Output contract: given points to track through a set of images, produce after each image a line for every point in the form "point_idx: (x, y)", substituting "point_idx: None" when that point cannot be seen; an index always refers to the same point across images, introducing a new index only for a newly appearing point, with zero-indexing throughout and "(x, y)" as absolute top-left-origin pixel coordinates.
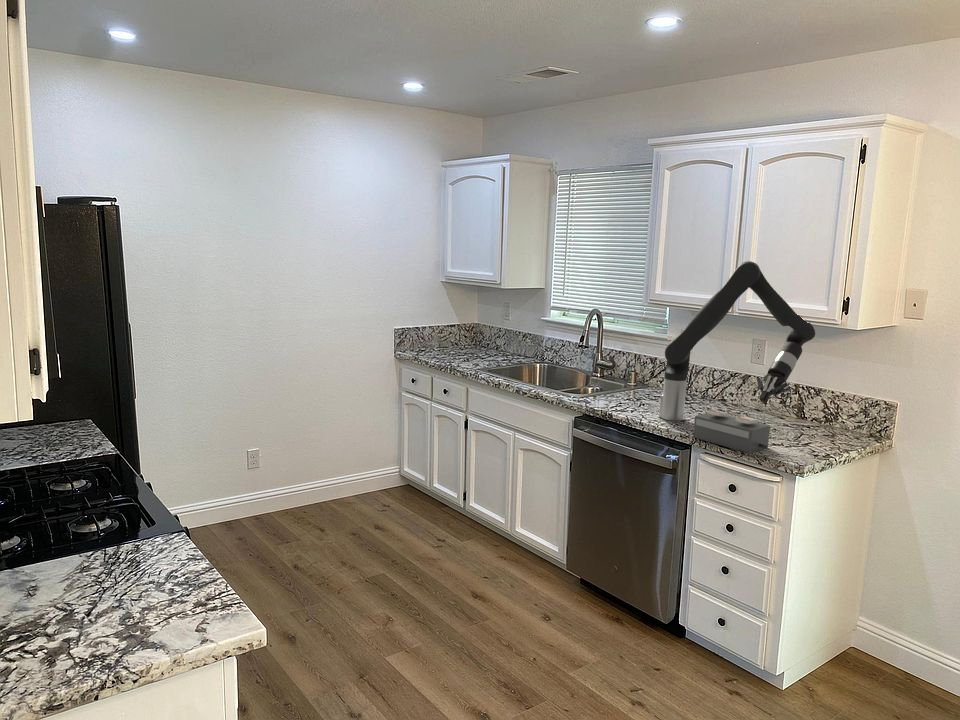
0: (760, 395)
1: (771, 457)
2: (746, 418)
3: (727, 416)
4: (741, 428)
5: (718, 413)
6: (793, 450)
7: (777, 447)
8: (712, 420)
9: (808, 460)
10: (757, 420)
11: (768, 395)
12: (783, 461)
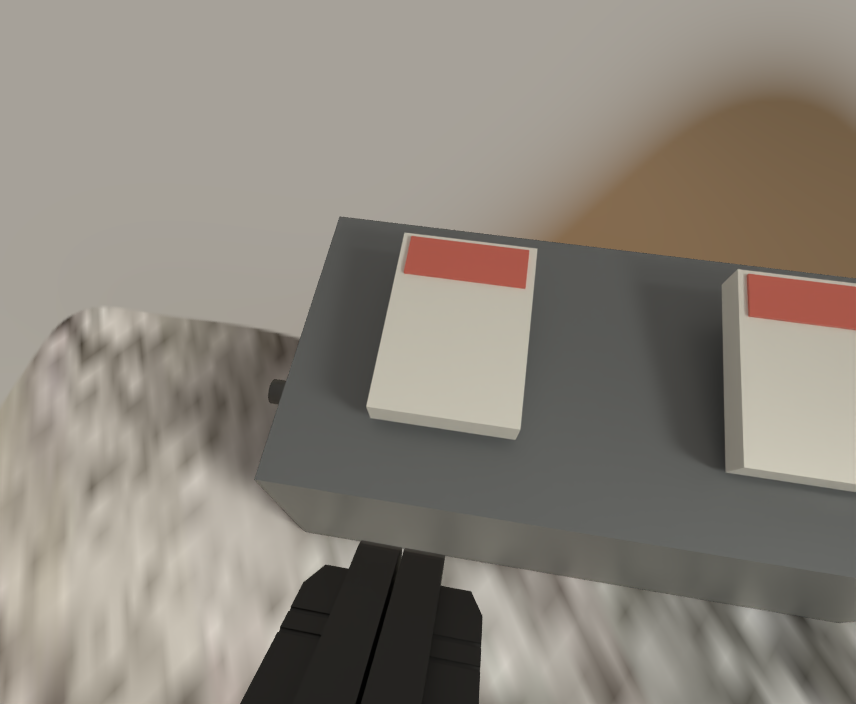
0: (473, 655)
1: (235, 344)
2: (465, 326)
3: (725, 447)
4: (435, 233)
5: (740, 274)
6: (118, 643)
7: (248, 628)
8: (719, 264)
9: (8, 453)
10: (370, 394)
11: (257, 683)
12: (159, 322)
